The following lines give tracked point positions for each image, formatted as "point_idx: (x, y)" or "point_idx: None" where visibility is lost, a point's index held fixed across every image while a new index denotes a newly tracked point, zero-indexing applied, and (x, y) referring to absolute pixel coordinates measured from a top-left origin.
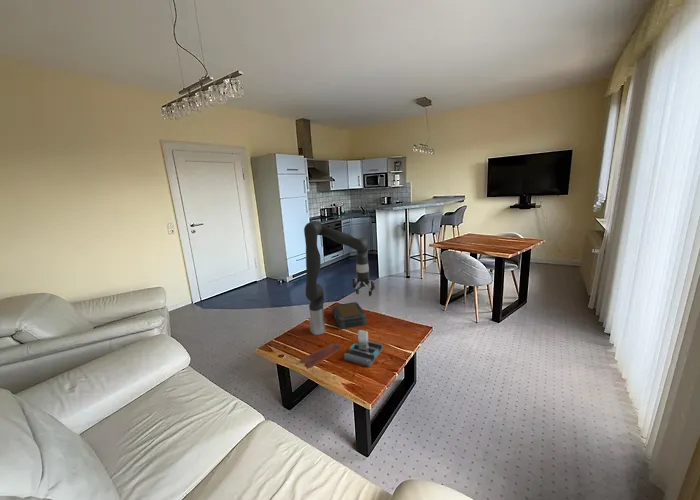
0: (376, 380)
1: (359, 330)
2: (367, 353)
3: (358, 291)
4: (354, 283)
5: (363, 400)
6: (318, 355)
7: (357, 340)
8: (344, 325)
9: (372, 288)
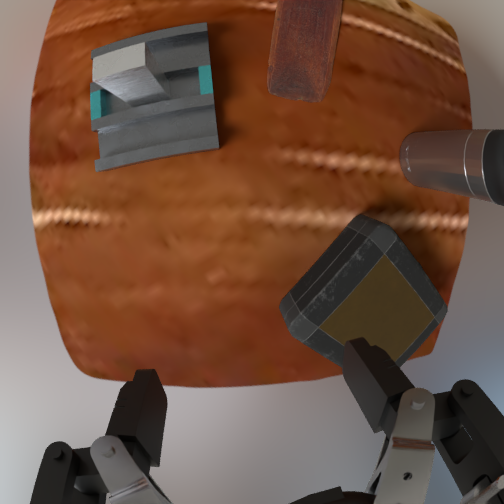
0: (64, 34)
1: (143, 57)
2: None
3: (357, 386)
4: (483, 448)
5: None
6: (310, 12)
7: (217, 136)
8: (353, 229)
9: (51, 468)
